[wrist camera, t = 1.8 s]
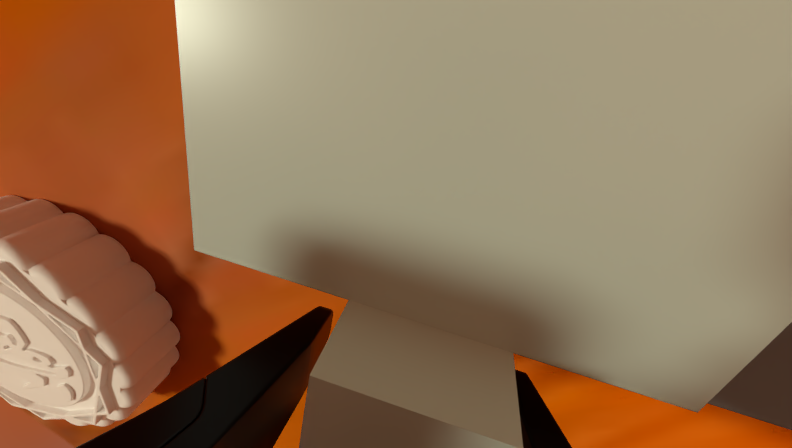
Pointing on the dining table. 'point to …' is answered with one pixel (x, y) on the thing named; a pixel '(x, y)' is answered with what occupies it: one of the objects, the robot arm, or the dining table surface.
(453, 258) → the lid
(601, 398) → the dining table surface
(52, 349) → the mooncake
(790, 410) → the mat
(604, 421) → the dining table surface
